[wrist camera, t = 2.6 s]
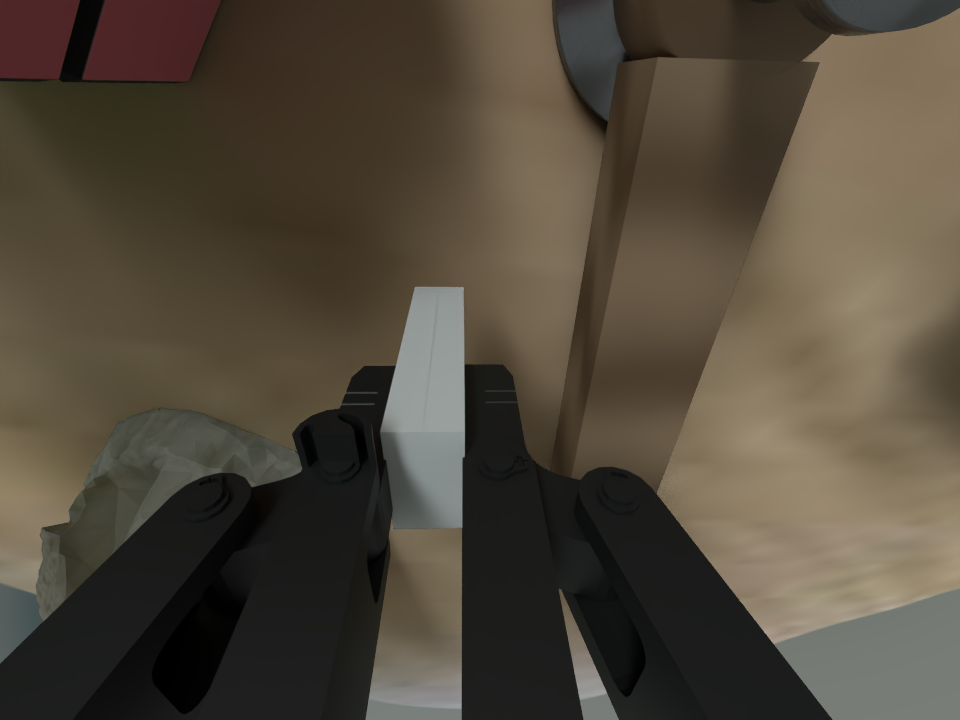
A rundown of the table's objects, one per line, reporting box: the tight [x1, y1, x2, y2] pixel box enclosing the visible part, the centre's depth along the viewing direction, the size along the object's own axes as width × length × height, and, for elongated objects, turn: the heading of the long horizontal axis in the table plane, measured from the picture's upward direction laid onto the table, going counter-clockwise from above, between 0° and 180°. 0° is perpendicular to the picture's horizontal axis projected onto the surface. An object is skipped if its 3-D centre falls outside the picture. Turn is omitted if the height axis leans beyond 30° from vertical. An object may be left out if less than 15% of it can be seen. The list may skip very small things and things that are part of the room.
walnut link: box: [550, 0, 832, 493], centre depth 16 cm, size 24×5×3 cm, turn 179°
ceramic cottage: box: [36, 408, 302, 621], centre depth 20 cm, size 16×16×15 cm
